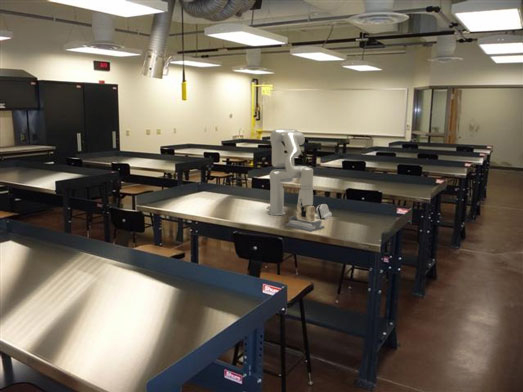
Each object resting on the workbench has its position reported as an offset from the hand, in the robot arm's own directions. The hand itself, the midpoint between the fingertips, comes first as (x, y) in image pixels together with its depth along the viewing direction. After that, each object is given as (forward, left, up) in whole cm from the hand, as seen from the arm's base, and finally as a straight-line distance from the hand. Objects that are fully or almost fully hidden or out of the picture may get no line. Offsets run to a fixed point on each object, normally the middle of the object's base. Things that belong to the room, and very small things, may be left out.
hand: (305, 216), depth 283 cm
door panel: (0, 0, -2) cm, 2 cm away
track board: (0, 0, -7) cm, 7 cm away
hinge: (-9, +32, -7) cm, 34 cm away
